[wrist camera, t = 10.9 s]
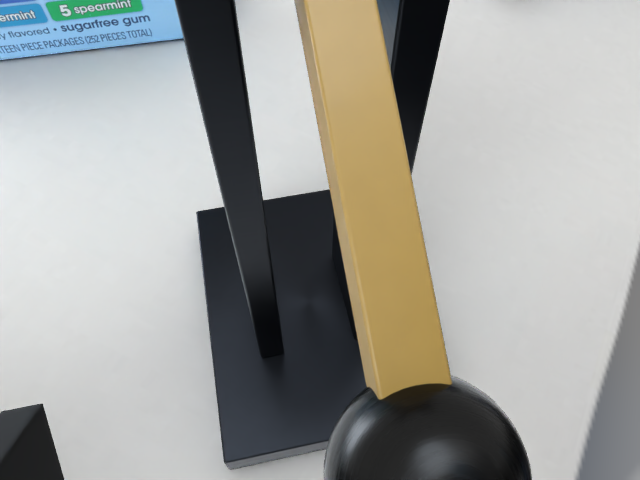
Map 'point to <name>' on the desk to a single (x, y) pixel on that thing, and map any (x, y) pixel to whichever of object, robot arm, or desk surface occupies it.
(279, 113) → the desk surface
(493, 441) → the lever
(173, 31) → the gum box
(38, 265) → the desk surface
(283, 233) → the switch bracket
